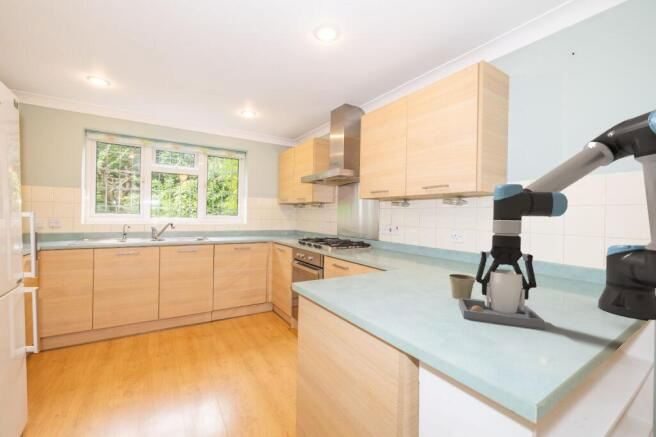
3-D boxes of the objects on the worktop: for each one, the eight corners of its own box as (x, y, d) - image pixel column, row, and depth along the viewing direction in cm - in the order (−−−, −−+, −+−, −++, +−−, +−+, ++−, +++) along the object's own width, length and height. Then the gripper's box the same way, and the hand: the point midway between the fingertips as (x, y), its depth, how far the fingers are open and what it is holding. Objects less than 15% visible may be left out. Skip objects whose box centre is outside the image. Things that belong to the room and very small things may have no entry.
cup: (511, 306, 91) (512, 269, 91) (528, 316, 82) (529, 275, 82) (482, 304, 92) (483, 268, 92) (495, 314, 83) (497, 273, 83)
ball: (482, 316, 86) (482, 304, 86) (484, 320, 83) (484, 308, 83) (469, 314, 88) (470, 303, 88) (471, 318, 84) (471, 306, 84)
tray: (526, 315, 90) (526, 305, 90) (543, 331, 77) (544, 320, 77) (458, 306, 97) (458, 297, 97) (463, 320, 84) (463, 310, 84)
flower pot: (480, 303, 102) (481, 279, 101) (454, 302, 102) (454, 278, 102) (467, 296, 111) (468, 274, 111) (443, 295, 111) (444, 273, 111)
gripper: (542, 235, 87) (540, 308, 87) (466, 232, 94) (464, 299, 94) (553, 237, 80) (550, 316, 80) (469, 233, 87) (467, 306, 87)
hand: (503, 307), depth 87 cm, fingers closed on cup, 8 cm apart
